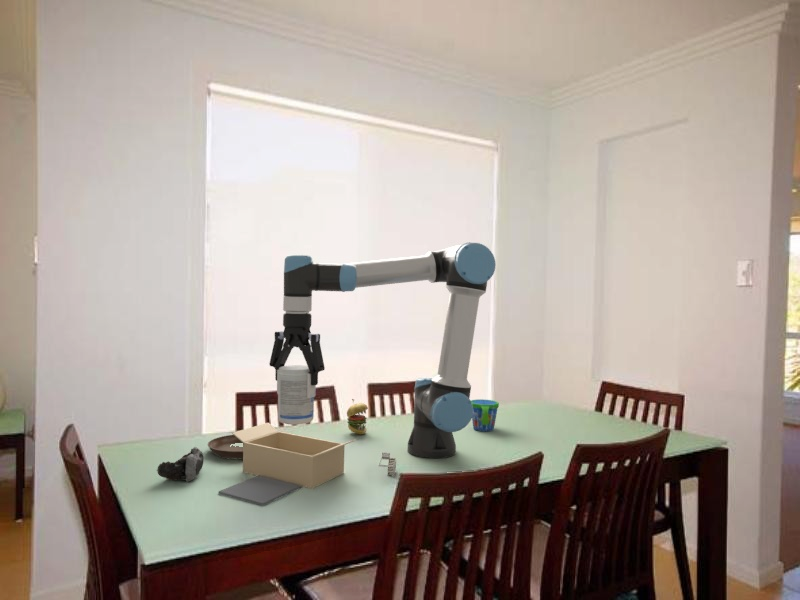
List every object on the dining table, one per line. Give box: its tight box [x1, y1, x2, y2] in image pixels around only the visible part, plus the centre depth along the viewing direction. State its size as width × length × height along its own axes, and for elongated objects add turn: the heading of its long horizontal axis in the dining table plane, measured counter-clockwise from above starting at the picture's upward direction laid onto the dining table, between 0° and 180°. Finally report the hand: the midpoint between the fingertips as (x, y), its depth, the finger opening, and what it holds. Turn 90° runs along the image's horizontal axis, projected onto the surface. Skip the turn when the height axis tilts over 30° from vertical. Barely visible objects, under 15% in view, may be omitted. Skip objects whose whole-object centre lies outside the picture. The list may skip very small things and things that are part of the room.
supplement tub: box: [277, 364, 315, 426], centre depth 152 cm, size 10×10×15 cm
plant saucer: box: [207, 434, 243, 460], centre depth 171 cm, size 21×21×3 cm
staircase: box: [378, 452, 397, 477], centre depth 153 cm, size 6×4×6 cm, turn 174°
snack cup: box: [470, 398, 500, 432], centre depth 206 cm, size 16×10×10 cm
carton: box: [231, 422, 358, 489], centre depth 152 cm, size 32×14×10 cm, turn 62°
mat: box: [218, 475, 302, 507], centre depth 138 cm, size 14×14×1 cm
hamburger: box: [346, 398, 368, 435], centre depth 195 cm, size 8×7×12 cm
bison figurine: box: [156, 446, 204, 483], centre depth 147 cm, size 12×7×10 cm
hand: (295, 395), depth 152 cm, fingers closed on supplement tub, 10 cm apart
